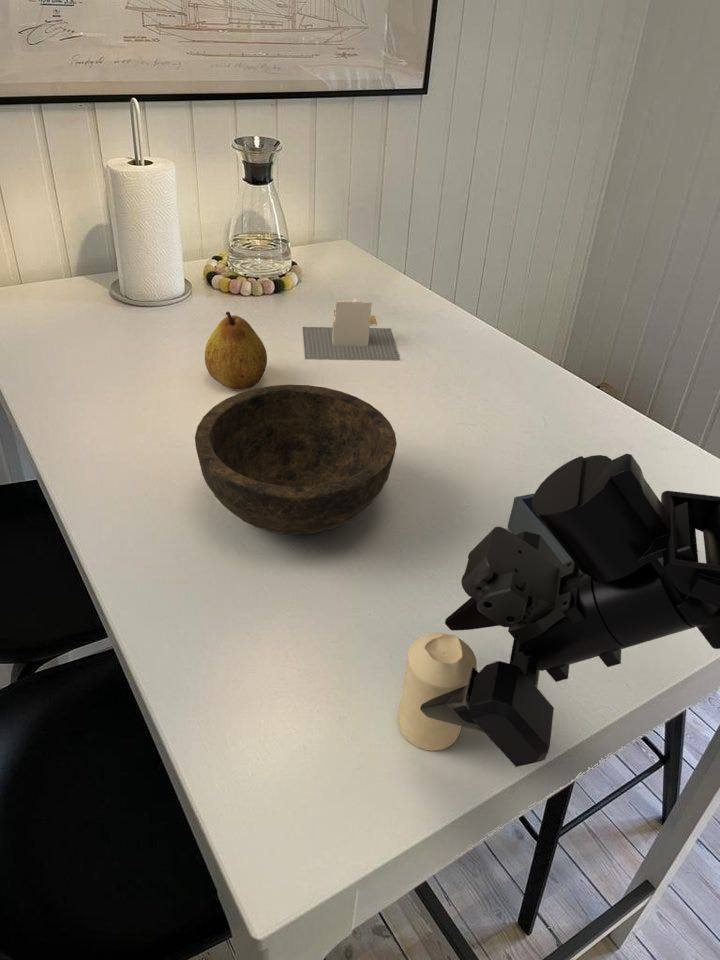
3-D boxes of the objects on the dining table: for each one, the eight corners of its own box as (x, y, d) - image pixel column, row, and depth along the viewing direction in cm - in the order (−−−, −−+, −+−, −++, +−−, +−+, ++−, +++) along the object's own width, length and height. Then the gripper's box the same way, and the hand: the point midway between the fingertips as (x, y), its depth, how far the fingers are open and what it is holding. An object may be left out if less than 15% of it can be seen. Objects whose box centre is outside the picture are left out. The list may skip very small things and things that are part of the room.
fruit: (243, 360, 115) (241, 286, 108) (279, 385, 109) (279, 308, 102) (194, 376, 110) (188, 299, 103) (229, 403, 105) (225, 323, 97)
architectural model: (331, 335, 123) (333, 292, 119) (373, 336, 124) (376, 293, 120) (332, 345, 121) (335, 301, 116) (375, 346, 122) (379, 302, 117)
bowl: (427, 517, 88) (438, 446, 82) (276, 601, 75) (276, 525, 69) (309, 433, 100) (311, 366, 94) (164, 494, 88) (156, 422, 82)
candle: (426, 686, 68) (440, 610, 62) (473, 725, 65) (493, 649, 59) (384, 721, 65) (395, 644, 59) (432, 764, 62) (449, 687, 56)
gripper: (560, 449, 57) (404, 524, 66) (533, 623, 42) (336, 691, 51) (636, 552, 60) (477, 611, 69) (635, 747, 46) (434, 790, 54)
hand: (436, 665), depth 61 cm, fingers open, 9 cm apart
